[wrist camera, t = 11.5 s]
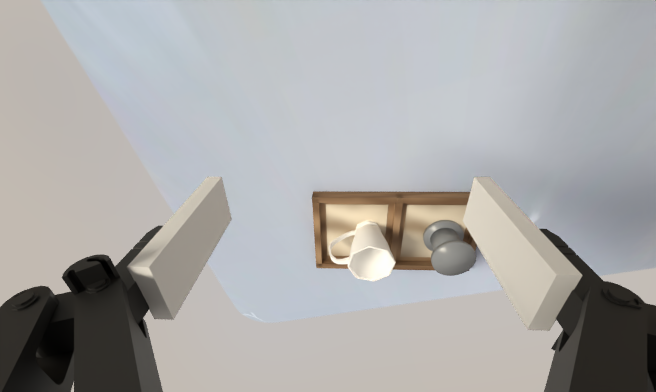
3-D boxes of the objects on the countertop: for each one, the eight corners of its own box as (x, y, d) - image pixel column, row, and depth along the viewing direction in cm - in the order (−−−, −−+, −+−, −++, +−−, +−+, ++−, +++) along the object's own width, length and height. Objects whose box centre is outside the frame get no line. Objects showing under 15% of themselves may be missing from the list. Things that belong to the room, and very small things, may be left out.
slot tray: (313, 191, 46) (312, 197, 45) (486, 192, 45) (491, 198, 43) (317, 261, 54) (316, 267, 52) (465, 263, 52) (468, 270, 51)
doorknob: (425, 219, 47) (435, 243, 42) (466, 219, 47) (480, 244, 42) (420, 249, 50) (428, 275, 45) (457, 249, 50) (470, 275, 45)
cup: (389, 244, 50) (396, 280, 43) (333, 249, 51) (331, 285, 45) (387, 211, 47) (394, 244, 40) (326, 218, 48) (323, 250, 41)
